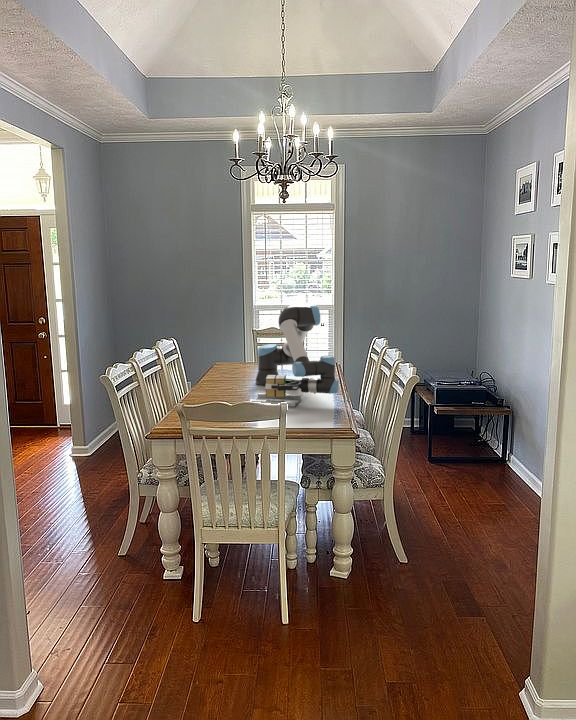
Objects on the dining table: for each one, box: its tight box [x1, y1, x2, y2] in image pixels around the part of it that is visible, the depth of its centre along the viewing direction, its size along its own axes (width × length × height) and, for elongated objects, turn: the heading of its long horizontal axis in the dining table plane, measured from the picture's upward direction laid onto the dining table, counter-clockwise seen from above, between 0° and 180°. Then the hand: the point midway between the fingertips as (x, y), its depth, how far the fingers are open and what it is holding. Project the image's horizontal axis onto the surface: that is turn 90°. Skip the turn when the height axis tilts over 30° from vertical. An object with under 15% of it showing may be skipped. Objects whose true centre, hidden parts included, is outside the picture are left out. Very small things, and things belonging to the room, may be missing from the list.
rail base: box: [249, 392, 302, 409], centre depth 315 cm, size 24×17×3 cm
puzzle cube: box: [265, 374, 287, 397], centre depth 313 cm, size 10×10×10 cm
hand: (268, 383), depth 314 cm, fingers closed on puzzle cube, 11 cm apart
